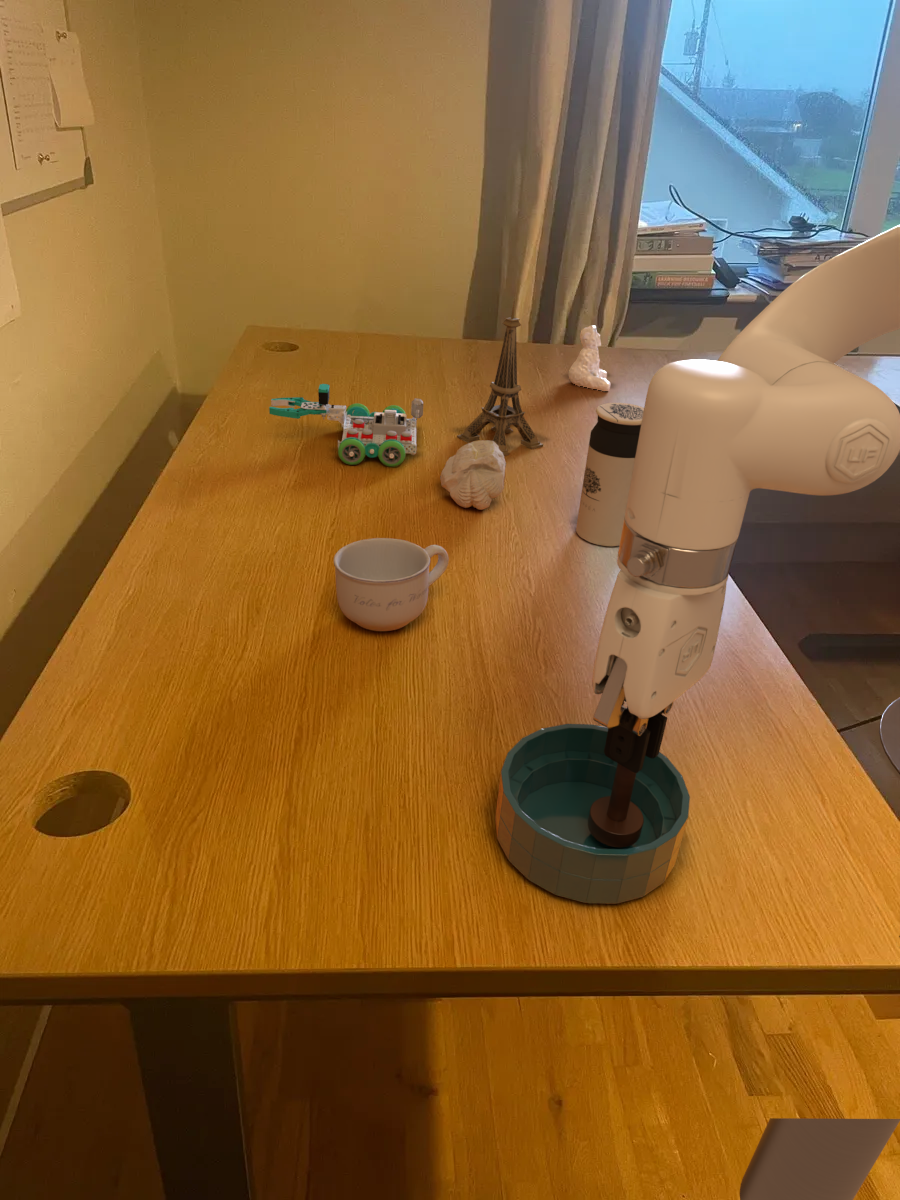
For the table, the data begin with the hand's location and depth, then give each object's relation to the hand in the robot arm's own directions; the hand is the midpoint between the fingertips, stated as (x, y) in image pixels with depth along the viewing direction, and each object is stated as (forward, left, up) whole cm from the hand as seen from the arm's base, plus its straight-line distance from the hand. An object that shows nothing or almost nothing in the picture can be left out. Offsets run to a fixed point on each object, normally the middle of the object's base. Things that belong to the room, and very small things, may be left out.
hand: (630, 754), depth 70 cm
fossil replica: (+8, -68, -10) cm, 69 cm away
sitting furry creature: (-19, -127, -10) cm, 129 cm away
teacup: (+19, -35, -10) cm, 41 cm away
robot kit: (+28, -87, -10) cm, 92 cm away
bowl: (+2, -1, -10) cm, 10 cm away
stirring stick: (0, 0, -8) cm, 8 cm away
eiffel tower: (+2, -92, -10) cm, 92 cm away
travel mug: (-10, -58, -10) cm, 60 cm away
